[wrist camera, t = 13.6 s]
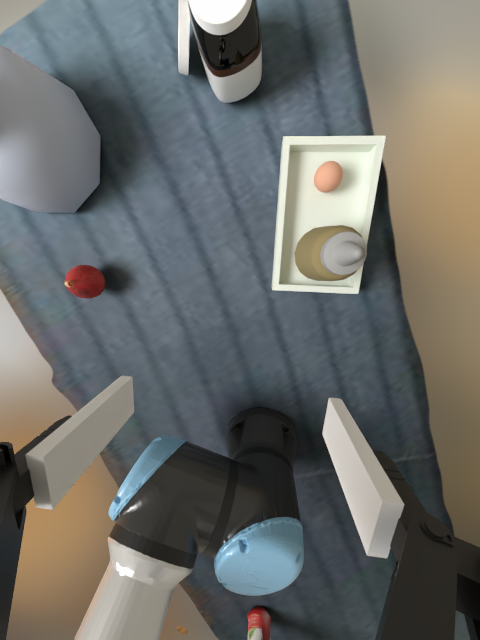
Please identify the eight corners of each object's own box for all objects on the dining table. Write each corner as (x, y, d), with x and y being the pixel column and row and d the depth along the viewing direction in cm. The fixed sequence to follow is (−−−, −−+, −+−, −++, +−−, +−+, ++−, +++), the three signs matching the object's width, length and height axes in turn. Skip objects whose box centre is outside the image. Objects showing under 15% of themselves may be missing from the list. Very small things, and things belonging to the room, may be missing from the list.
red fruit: (119, 289, 45) (90, 295, 37) (95, 298, 46) (61, 307, 38) (105, 259, 43) (71, 260, 36) (80, 270, 44) (42, 273, 37)
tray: (351, 291, 41) (358, 293, 38) (271, 287, 42) (272, 290, 39) (374, 146, 35) (385, 135, 32) (281, 146, 36) (283, 136, 33)
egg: (335, 195, 36) (344, 188, 32) (310, 195, 37) (315, 188, 33) (339, 166, 35) (349, 156, 31) (313, 166, 35) (319, 156, 32)
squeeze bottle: (281, 253, 39) (297, 250, 22) (320, 218, 37) (371, 185, 20) (311, 288, 40) (348, 312, 23) (350, 256, 38) (422, 256, 21)
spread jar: (268, 96, 34) (270, 19, 23) (199, 129, 36) (171, 73, 25) (241, -3, 32) (230, -144, 20) (168, 39, 34) (122, -68, 22)
